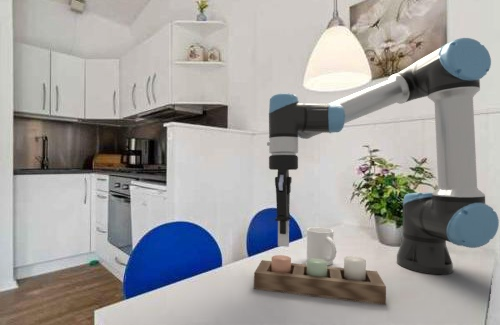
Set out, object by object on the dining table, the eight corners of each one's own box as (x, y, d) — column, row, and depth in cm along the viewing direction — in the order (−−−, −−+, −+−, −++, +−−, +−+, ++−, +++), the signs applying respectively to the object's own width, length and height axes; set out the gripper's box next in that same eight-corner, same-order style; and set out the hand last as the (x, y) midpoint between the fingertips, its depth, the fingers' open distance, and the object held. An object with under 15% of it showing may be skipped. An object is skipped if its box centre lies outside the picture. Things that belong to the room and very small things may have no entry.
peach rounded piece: (291, 272, 76) (291, 256, 76) (289, 279, 71) (290, 262, 71) (272, 270, 77) (273, 254, 77) (269, 277, 72) (270, 260, 72)
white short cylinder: (363, 274, 72) (364, 257, 72) (367, 282, 67) (367, 263, 67) (342, 272, 73) (343, 255, 73) (344, 280, 68) (345, 261, 68)
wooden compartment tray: (376, 287, 73) (376, 271, 73) (385, 304, 64) (386, 286, 64) (261, 274, 80) (261, 260, 80) (253, 288, 70) (254, 272, 70)
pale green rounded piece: (326, 276, 74) (326, 259, 74) (327, 284, 69) (327, 265, 69) (306, 274, 75) (307, 257, 75) (306, 281, 70) (306, 263, 70)
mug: (346, 268, 87) (346, 234, 87) (322, 271, 84) (323, 236, 84) (323, 256, 98) (323, 226, 98) (301, 259, 95) (302, 227, 95)
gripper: (272, 155, 82) (272, 238, 81) (264, 153, 69) (264, 251, 69) (299, 155, 80) (299, 240, 80) (296, 153, 67) (296, 253, 67)
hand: (283, 245), depth 74 cm, fingers closed
